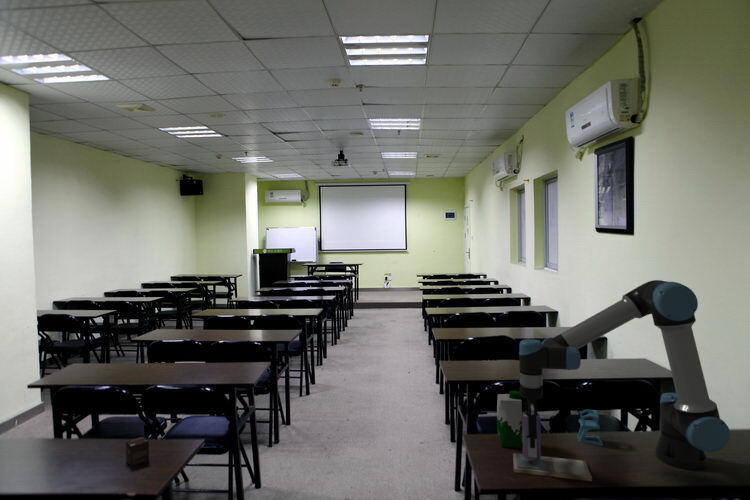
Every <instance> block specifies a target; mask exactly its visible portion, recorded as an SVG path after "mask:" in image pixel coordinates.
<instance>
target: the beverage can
mask: <svg viewBox="0 0 750 500" xmlns="http://www.w3.org/2000/svg"><path fill="white" fill-rule="evenodd" d="M528 414H529V413H528ZM536 420H537V457H528V438H526V436H528V435H529V433H528V416H527V415H526V411H523V412H522V439H521V444H522V454H523V456H524V458H525V459H527V460H530V461H538V460H539V459H540V458H541V456H542V449H541V447H542V446H541V445H542V444H541V443H542V442H541V440H542V437H541V435H542V434H541V432H542V431H541V427H542V425H541V415H540V413H538V412H537V417H536Z"/></svg>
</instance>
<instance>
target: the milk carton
mask: <svg viewBox="0 0 750 500" xmlns="http://www.w3.org/2000/svg"><path fill="white" fill-rule="evenodd" d="M522 405H523V403H522V397H521V396H520V390H510V391H509V392H508V393H504V394H501V393H500V394H499V393H498V394H497V404H496V426H497V428H496V429H497V436H498V440H499V442H500V443H499V444H500V446H501V448H515V449H521V448H522V416H523V412H522V411H523V409H522V408H523V407H522Z"/></svg>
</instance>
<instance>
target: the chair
mask: <svg viewBox="0 0 750 500" xmlns="http://www.w3.org/2000/svg"><path fill="white" fill-rule="evenodd" d="M578 413H579V415H580V419H578V423H579V424H580V427H579V430H578V433H577V434H578V435H577V437H576V439H577V440H578V442H579V443H584V444H589V445H594V446H598V447H604V443H603V441H602V439H601V437H600V436H599V435H586V434H587V433H588V431H590V430H600V429H601V426H600V425H599V420H600V415H599V412H598V411H597V410H594V409H583V410H582V411H581V410H580V411H578ZM583 414H585V415H583ZM587 418H592V420H589V419H587ZM592 440H598V442H597V441H592Z"/></svg>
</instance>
